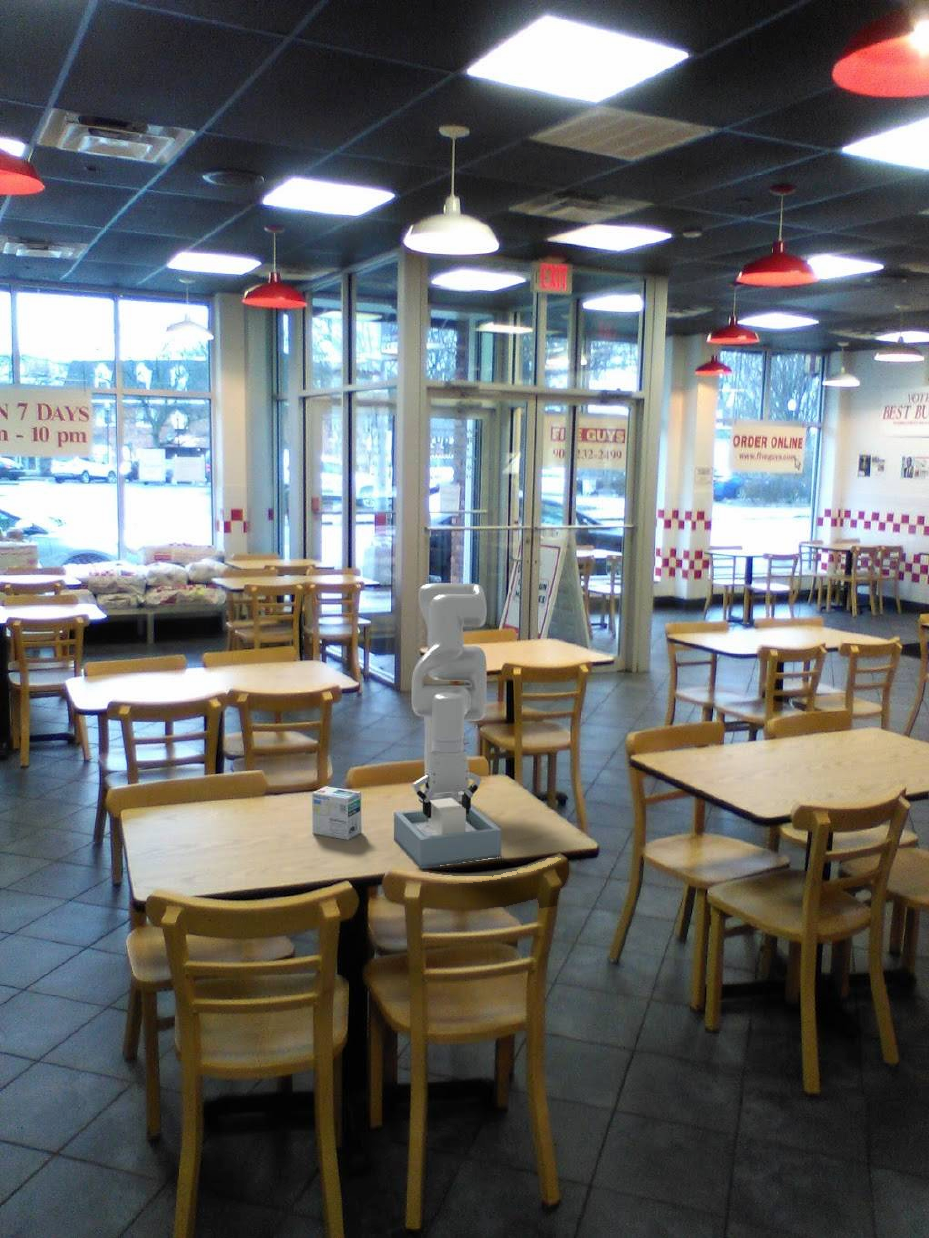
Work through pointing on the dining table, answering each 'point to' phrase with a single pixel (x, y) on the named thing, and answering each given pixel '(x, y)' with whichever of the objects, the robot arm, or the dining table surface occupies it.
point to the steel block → (429, 831)
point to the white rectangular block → (447, 816)
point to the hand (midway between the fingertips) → (446, 814)
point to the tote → (447, 840)
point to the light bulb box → (336, 812)
